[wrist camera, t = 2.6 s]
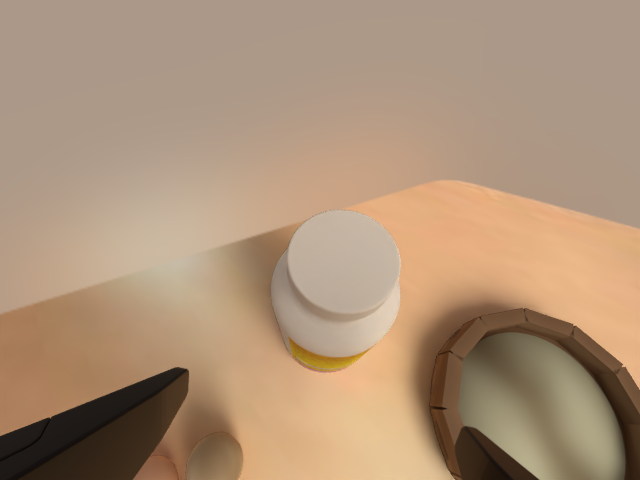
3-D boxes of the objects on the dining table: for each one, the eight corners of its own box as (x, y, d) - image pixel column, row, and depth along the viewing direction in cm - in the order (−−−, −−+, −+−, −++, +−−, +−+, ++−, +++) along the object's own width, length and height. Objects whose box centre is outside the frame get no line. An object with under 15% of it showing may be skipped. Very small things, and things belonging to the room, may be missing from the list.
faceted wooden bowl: (578, 626, 16) (616, 657, 14) (390, 404, 21) (399, 404, 19) (667, 427, 21) (704, 430, 19) (498, 283, 26) (514, 274, 24)
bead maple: (213, 506, 18) (196, 526, 15) (186, 456, 19) (166, 466, 16) (257, 462, 19) (249, 473, 16) (229, 418, 20) (217, 421, 17)
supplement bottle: (382, 348, 23) (461, 296, 11) (304, 390, 21) (304, 380, 10) (341, 274, 25) (372, 173, 14) (269, 306, 24) (238, 221, 12)
